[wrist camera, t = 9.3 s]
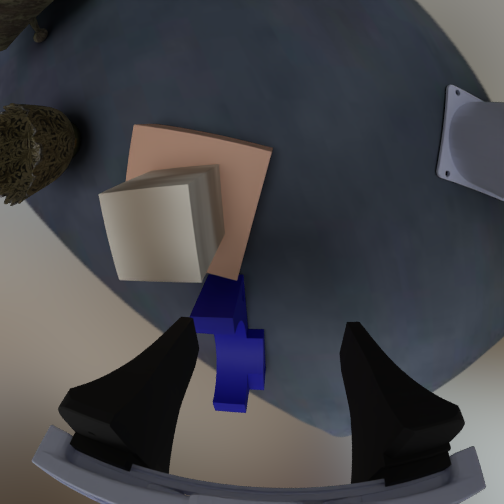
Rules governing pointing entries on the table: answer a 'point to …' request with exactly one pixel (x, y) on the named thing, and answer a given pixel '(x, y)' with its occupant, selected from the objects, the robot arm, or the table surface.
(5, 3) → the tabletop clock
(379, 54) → the table surface
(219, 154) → the terracotta block
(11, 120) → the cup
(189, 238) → the ivory block
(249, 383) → the blue stepped block
